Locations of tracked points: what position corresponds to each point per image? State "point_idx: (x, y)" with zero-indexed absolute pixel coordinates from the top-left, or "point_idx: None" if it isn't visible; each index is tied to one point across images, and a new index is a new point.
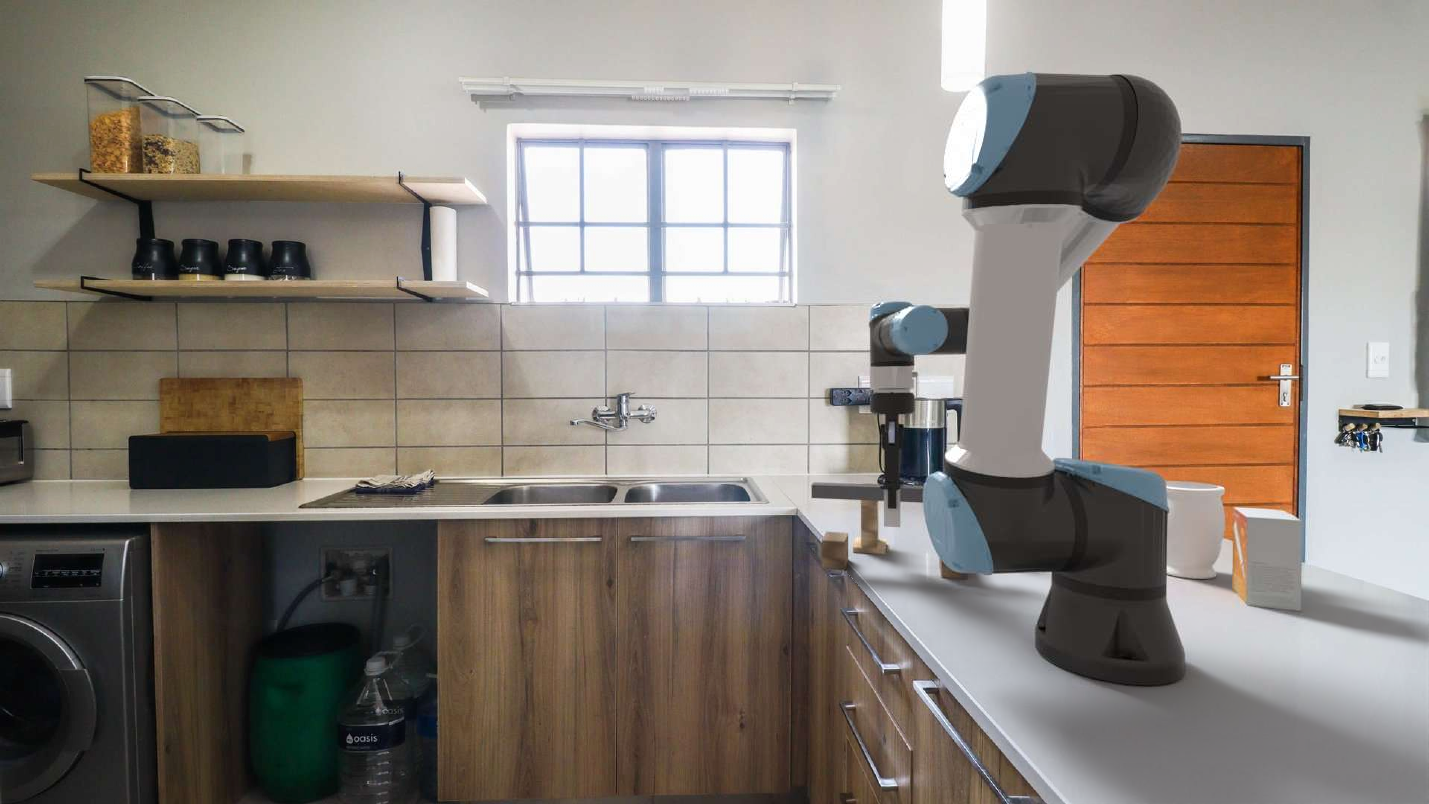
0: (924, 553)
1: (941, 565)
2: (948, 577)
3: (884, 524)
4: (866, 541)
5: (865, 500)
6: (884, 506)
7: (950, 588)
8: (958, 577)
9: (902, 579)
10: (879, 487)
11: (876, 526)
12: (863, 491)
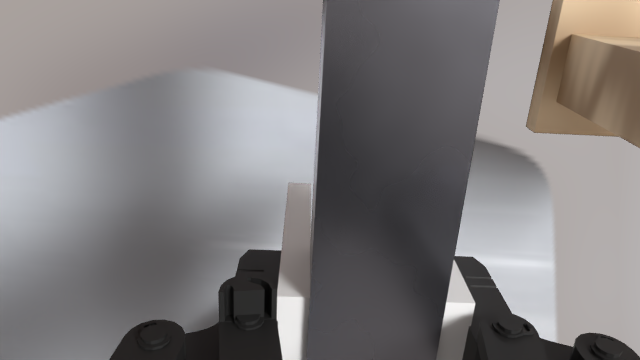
0: (545, 257)
1: None
2: None
3: (289, 188)
4: (578, 62)
5: None
6: (285, 234)
7: (159, 296)
8: None
9: (209, 175)
10: (311, 271)
11: (604, 125)
12: (317, 138)
